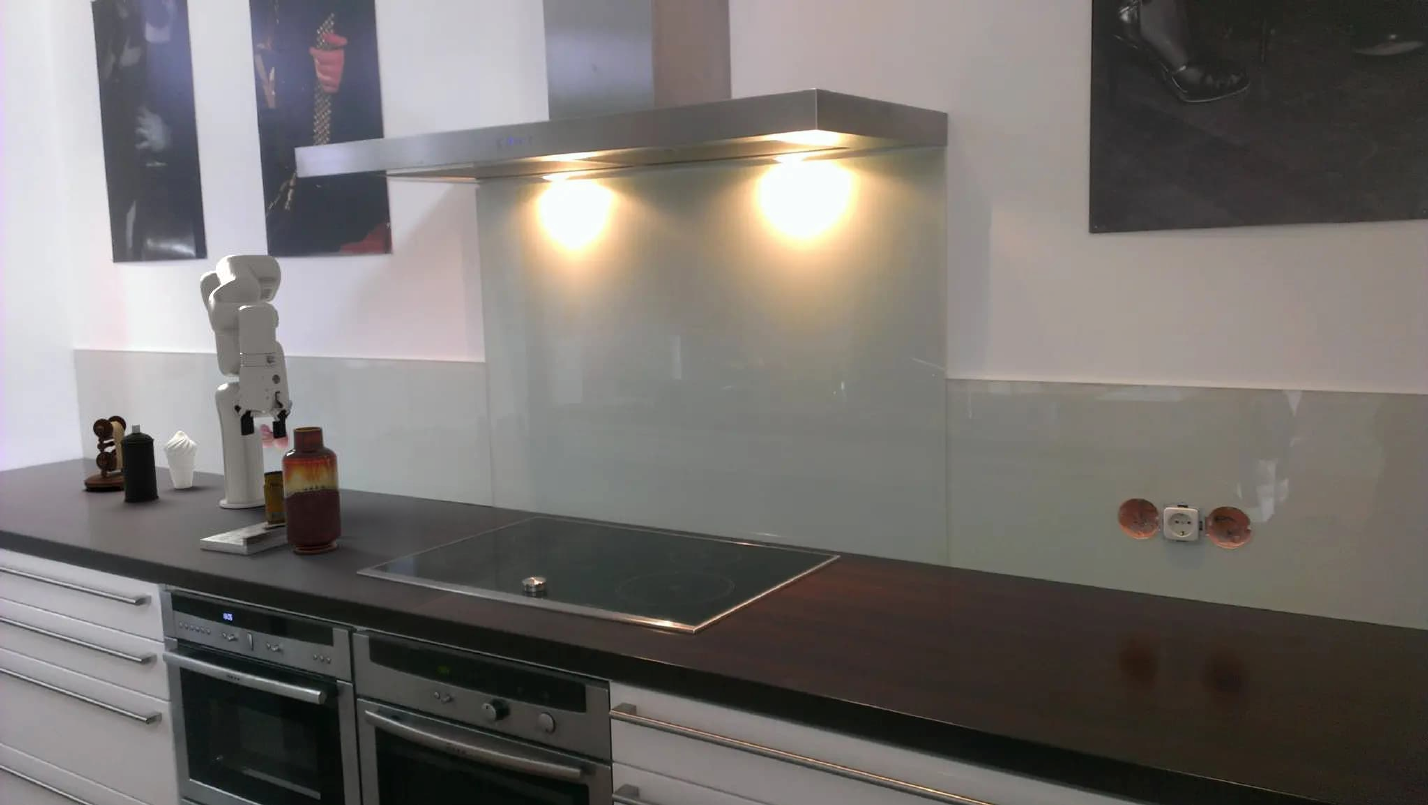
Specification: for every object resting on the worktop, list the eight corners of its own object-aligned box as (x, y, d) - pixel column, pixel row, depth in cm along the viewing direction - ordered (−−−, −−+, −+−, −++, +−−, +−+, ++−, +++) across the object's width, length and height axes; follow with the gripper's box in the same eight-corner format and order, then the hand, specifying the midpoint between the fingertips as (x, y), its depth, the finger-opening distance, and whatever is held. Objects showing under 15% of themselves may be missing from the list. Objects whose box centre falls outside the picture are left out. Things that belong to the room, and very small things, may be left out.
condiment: (294, 522, 250) (288, 470, 251) (303, 521, 243) (297, 467, 244) (260, 527, 246) (254, 474, 247) (269, 525, 239) (263, 471, 240)
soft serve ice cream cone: (190, 490, 302) (186, 432, 300) (160, 490, 302) (156, 433, 300) (204, 484, 310) (201, 428, 308) (175, 484, 310) (171, 428, 309)
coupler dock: (280, 526, 255) (278, 493, 254) (325, 531, 249) (323, 497, 248) (200, 548, 235) (197, 512, 234) (247, 554, 229) (244, 517, 228)
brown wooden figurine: (126, 492, 301) (120, 420, 298) (73, 492, 301) (67, 420, 298) (154, 482, 315) (149, 413, 313) (103, 482, 315) (98, 414, 313)
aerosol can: (165, 497, 291) (159, 423, 289) (135, 503, 284) (129, 427, 282) (147, 495, 296) (142, 422, 293) (117, 500, 289) (111, 425, 287)
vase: (275, 553, 230) (267, 431, 227) (312, 541, 240) (305, 424, 237) (317, 557, 226) (310, 433, 223) (353, 545, 236) (346, 425, 233)
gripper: (301, 360, 243) (305, 436, 246) (244, 357, 250) (248, 430, 253) (275, 364, 236) (279, 442, 239) (217, 360, 243) (222, 436, 246)
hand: (263, 436), depth 246 cm, fingers open, 9 cm apart
